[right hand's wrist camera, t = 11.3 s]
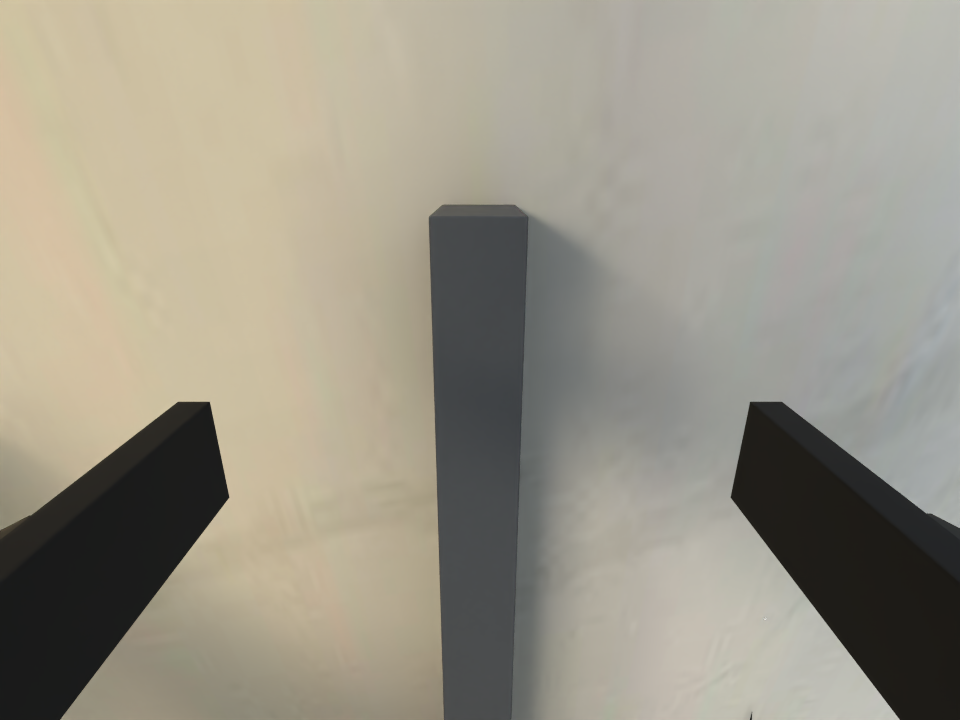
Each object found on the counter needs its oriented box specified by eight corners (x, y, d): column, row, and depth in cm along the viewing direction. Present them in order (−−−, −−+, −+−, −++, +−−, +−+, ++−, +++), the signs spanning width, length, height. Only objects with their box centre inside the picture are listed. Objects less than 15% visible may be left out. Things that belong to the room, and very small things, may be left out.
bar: (442, 204, 31) (428, 216, 23) (515, 204, 31) (528, 216, 23) (454, 792, 50) (449, 913, 42) (500, 792, 50) (504, 913, 42)
